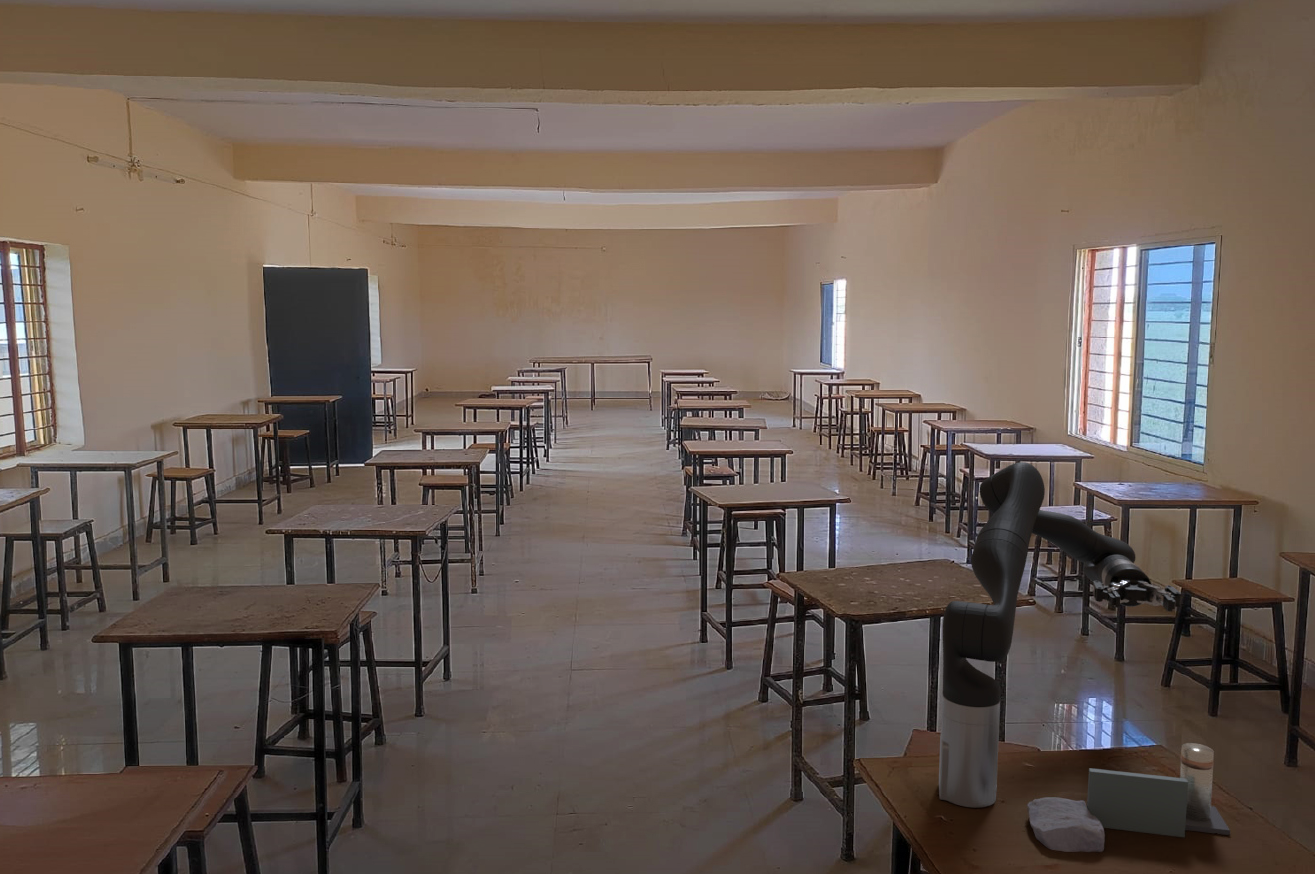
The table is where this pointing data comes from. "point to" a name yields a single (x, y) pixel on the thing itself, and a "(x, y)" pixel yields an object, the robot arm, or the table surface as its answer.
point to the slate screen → (1138, 801)
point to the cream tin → (1197, 779)
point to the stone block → (1065, 825)
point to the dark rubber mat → (1209, 824)
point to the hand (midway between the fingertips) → (1144, 604)
